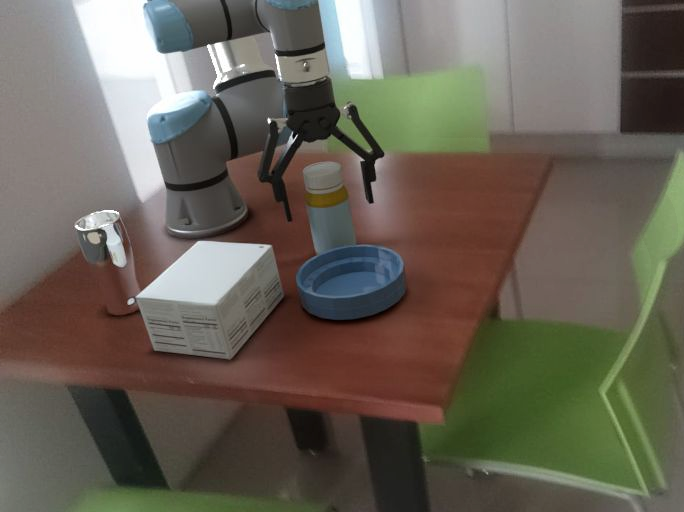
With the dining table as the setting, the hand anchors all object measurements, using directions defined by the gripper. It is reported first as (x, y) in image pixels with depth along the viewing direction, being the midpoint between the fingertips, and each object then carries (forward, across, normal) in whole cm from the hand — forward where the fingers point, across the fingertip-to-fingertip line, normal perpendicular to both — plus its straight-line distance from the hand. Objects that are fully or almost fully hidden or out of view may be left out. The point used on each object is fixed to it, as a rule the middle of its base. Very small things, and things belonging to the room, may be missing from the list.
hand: (329, 209), depth 129 cm
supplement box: (+8, -21, -14) cm, 26 cm away
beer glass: (+8, -35, -2) cm, 36 cm away
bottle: (+8, 0, 0) cm, 8 cm away
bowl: (+8, -1, -15) cm, 17 cm away
